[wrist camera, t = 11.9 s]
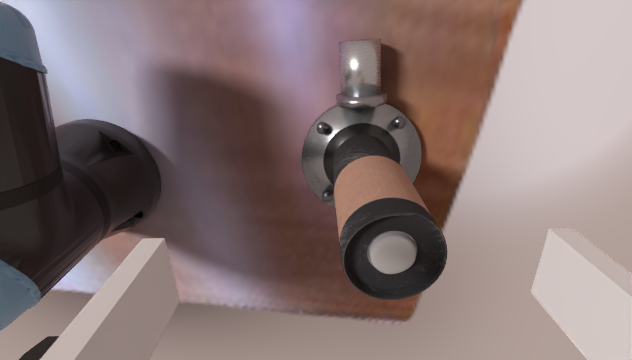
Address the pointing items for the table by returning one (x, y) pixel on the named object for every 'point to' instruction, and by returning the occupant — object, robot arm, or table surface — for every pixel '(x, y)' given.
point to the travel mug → (383, 223)
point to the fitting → (358, 120)
